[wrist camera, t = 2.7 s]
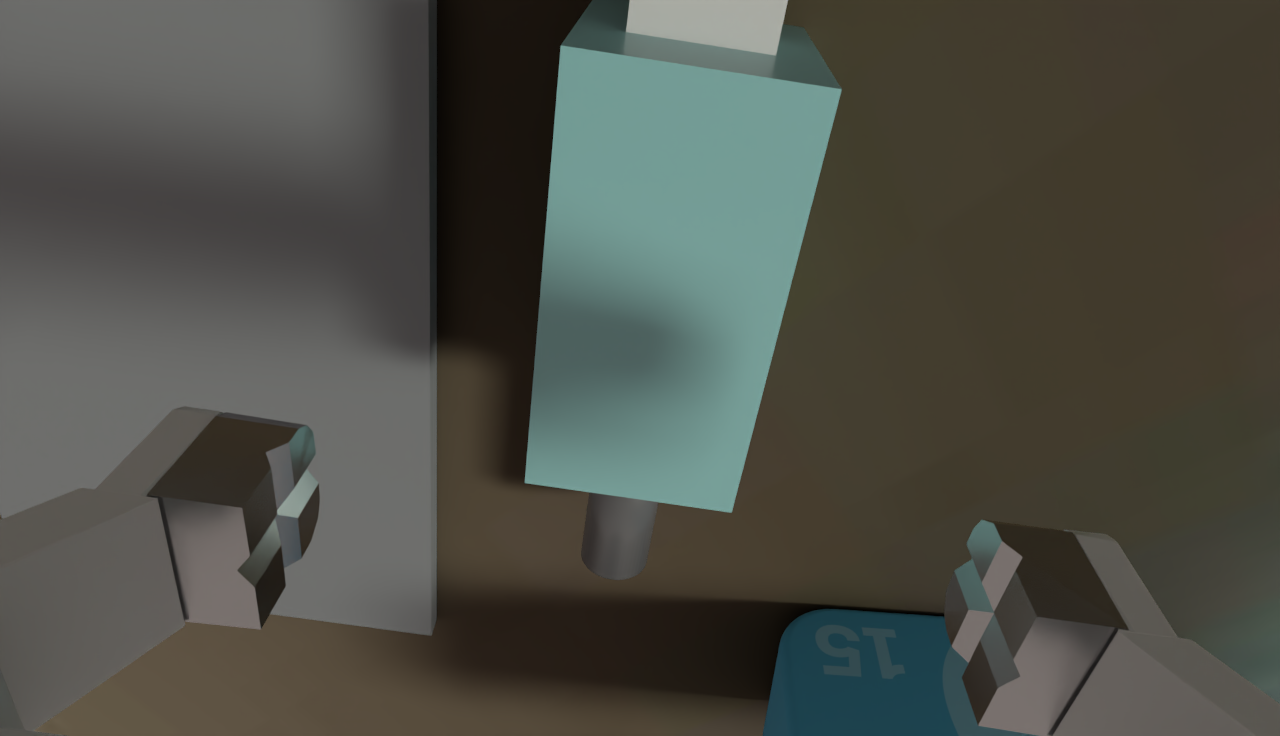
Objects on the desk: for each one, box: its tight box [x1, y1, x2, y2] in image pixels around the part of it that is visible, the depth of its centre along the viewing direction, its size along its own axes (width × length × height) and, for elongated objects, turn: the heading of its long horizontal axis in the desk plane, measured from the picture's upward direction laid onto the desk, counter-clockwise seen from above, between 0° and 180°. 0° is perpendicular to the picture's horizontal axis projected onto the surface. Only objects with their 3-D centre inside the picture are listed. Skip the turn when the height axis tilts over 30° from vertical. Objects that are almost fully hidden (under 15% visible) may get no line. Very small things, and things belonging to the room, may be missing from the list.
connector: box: [525, 0, 842, 580], centre depth 16 cm, size 14×4×5 cm, turn 172°
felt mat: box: [0, 0, 437, 636], centre depth 20 cm, size 18×12×1 cm, turn 173°
